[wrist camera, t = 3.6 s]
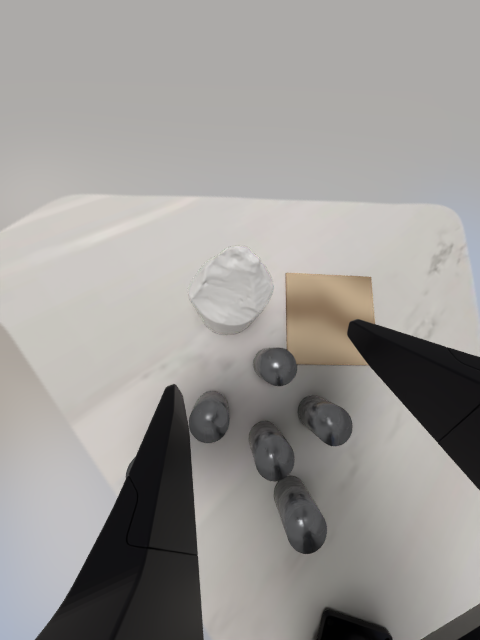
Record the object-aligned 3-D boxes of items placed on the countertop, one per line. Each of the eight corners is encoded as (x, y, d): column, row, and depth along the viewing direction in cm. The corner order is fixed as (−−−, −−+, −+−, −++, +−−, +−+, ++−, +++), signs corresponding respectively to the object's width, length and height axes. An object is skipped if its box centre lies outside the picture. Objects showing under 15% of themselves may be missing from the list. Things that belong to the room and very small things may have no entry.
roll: (189, 330, 9) (160, 222, 10) (208, 341, 21) (194, 291, 22) (307, 296, 10) (273, 198, 11) (262, 325, 22) (247, 277, 23)
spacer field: (339, 373, 22) (364, 378, 18) (300, 517, 20) (320, 559, 16) (197, 320, 21) (191, 314, 18) (139, 461, 19) (118, 490, 15)
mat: (376, 365, 22) (378, 365, 22) (287, 364, 22) (288, 364, 21) (369, 277, 24) (371, 276, 24) (285, 273, 23) (286, 272, 23)
